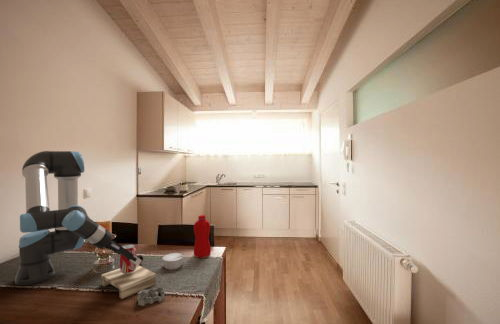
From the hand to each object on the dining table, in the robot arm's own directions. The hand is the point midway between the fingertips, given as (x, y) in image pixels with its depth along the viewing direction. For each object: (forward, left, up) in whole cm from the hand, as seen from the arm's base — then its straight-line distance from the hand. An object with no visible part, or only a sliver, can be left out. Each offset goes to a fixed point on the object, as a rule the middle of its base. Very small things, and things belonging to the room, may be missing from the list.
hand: (135, 260), depth 120 cm
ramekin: (0, +22, -10) cm, 24 cm away
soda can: (0, -3, -4) cm, 5 cm away
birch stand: (0, -3, -10) cm, 11 cm away
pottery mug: (-14, +7, -10) cm, 19 cm away
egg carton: (+20, -4, -11) cm, 23 cm away
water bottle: (+1, +42, -10) cm, 43 cm away
